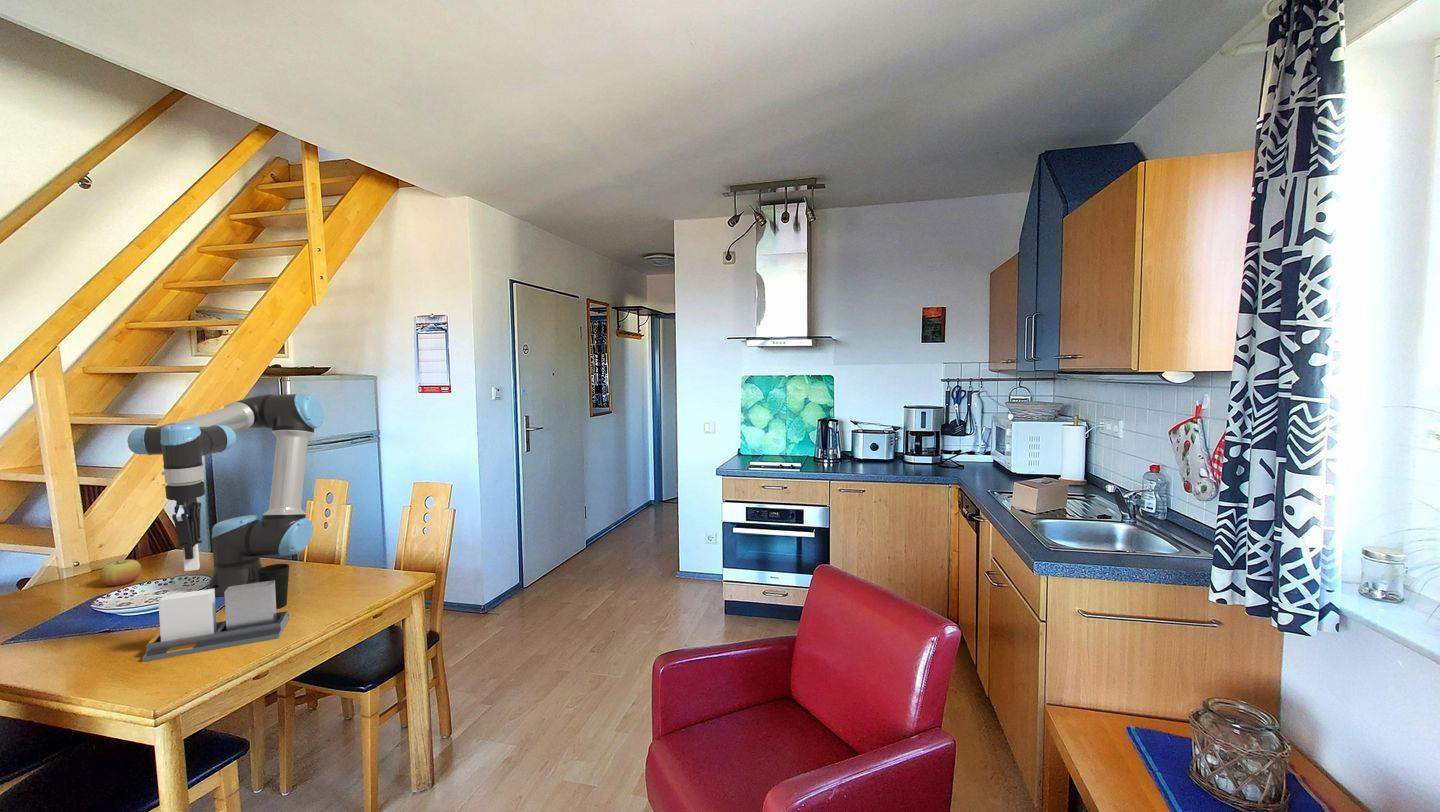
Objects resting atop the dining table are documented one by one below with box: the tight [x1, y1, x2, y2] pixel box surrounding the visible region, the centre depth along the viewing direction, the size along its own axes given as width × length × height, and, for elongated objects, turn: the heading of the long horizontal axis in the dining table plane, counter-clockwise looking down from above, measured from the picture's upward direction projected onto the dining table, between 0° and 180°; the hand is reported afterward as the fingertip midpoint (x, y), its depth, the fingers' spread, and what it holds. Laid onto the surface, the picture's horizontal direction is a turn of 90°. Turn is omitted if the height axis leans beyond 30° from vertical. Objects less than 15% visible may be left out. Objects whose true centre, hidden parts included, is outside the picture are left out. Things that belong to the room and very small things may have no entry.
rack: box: [141, 580, 290, 663], centre depth 152 cm, size 14×27×13 cm, turn 118°
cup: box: [257, 563, 290, 610], centre depth 173 cm, size 8×8×12 cm
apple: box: [99, 559, 142, 587], centre depth 191 cm, size 10×10×8 cm
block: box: [158, 588, 217, 642], centre depth 149 cm, size 4×10×12 cm, turn 118°
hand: (192, 569), depth 151 cm, fingers closed
